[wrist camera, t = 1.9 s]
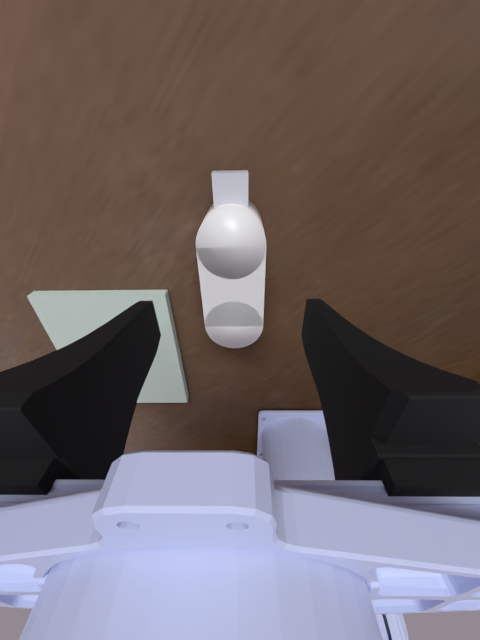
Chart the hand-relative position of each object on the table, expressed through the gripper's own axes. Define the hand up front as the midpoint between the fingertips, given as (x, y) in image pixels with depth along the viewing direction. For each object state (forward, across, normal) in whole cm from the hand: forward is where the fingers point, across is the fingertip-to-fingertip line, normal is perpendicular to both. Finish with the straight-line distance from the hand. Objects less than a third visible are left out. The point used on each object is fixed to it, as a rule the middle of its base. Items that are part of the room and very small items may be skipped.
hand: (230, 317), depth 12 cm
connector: (+7, 0, 0) cm, 7 cm away
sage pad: (+7, +10, +8) cm, 15 cm away
